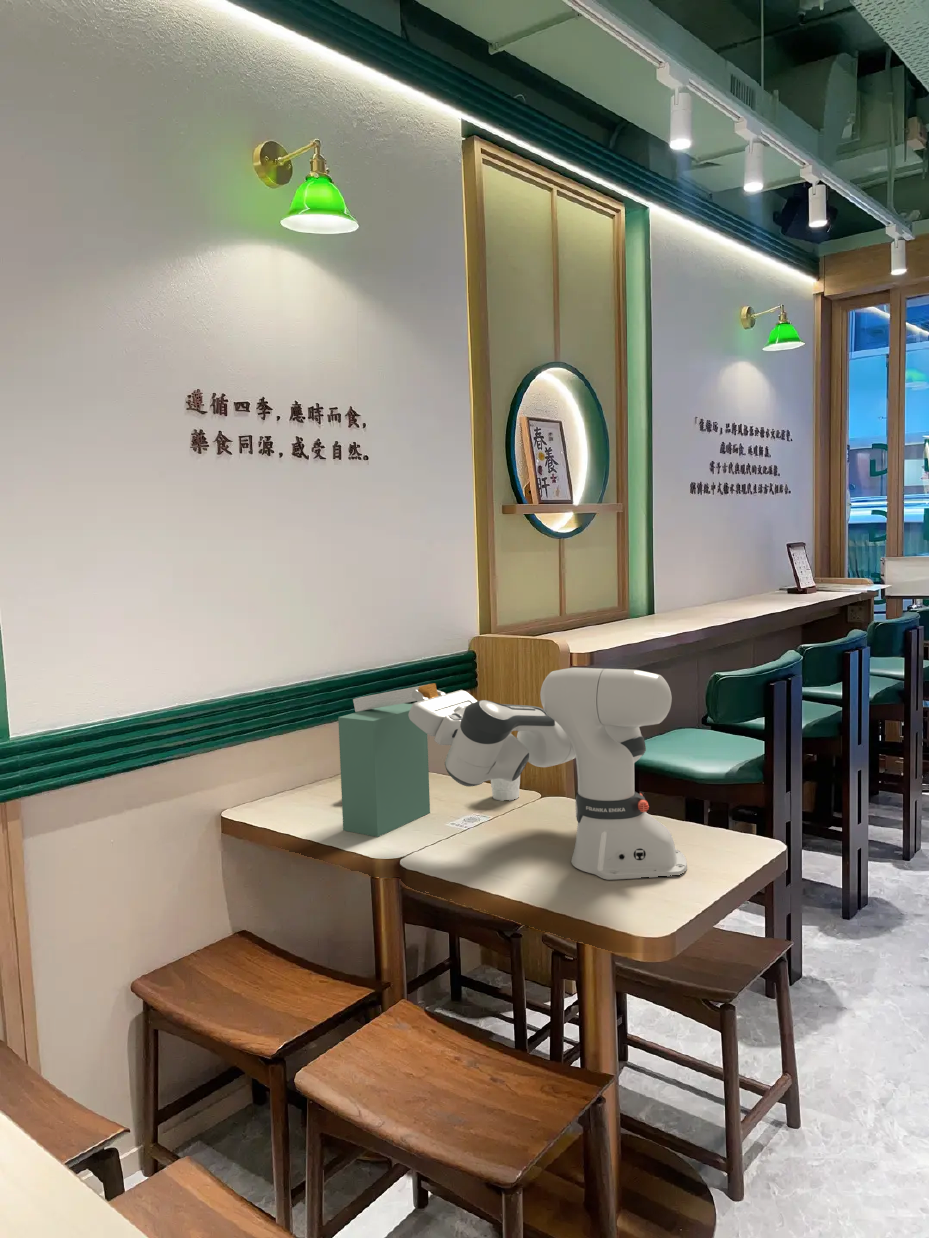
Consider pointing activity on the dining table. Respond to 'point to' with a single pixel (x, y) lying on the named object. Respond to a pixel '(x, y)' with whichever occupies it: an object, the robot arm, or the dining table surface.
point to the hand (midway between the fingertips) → (420, 690)
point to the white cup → (505, 789)
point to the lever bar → (393, 697)
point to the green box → (382, 770)
